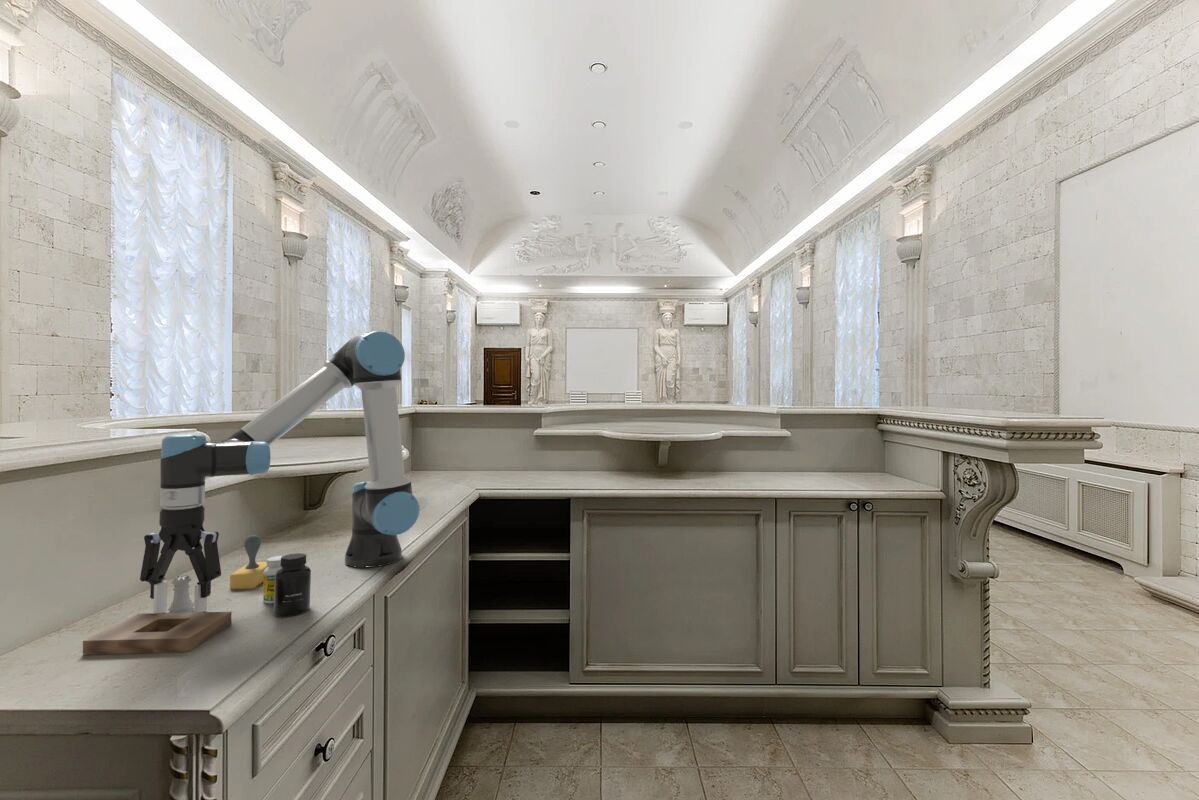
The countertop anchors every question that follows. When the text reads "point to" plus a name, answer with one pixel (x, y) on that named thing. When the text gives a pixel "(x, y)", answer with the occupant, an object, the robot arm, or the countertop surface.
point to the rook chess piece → (181, 596)
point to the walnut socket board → (158, 633)
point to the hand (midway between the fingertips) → (180, 612)
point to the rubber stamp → (249, 567)
